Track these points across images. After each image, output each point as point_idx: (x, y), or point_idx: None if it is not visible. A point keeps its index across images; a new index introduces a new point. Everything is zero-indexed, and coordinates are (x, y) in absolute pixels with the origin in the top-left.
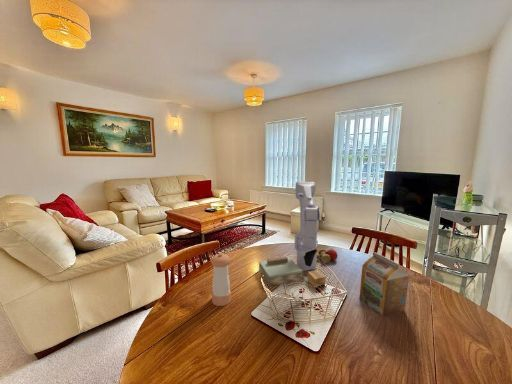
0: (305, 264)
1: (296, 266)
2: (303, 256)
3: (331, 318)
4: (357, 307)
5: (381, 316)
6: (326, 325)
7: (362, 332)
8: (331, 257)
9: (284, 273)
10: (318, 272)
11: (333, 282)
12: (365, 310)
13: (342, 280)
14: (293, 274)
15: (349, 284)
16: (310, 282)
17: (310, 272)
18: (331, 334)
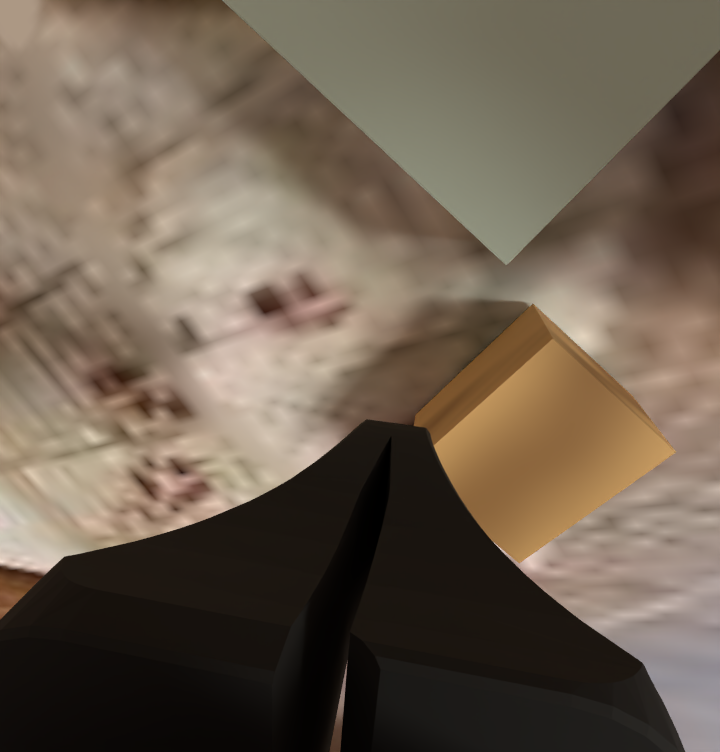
0: (360, 424)
1: (621, 100)
2: (241, 505)
3: None
4: (342, 702)
5: None
6: (51, 556)
7: None
8: None
9: (238, 9)
10: (603, 475)
11: (624, 553)
12: (341, 736)
13: (709, 622)
14: None
15: (652, 672)
16: (480, 355)
17: (549, 377)
18: (13, 584)
